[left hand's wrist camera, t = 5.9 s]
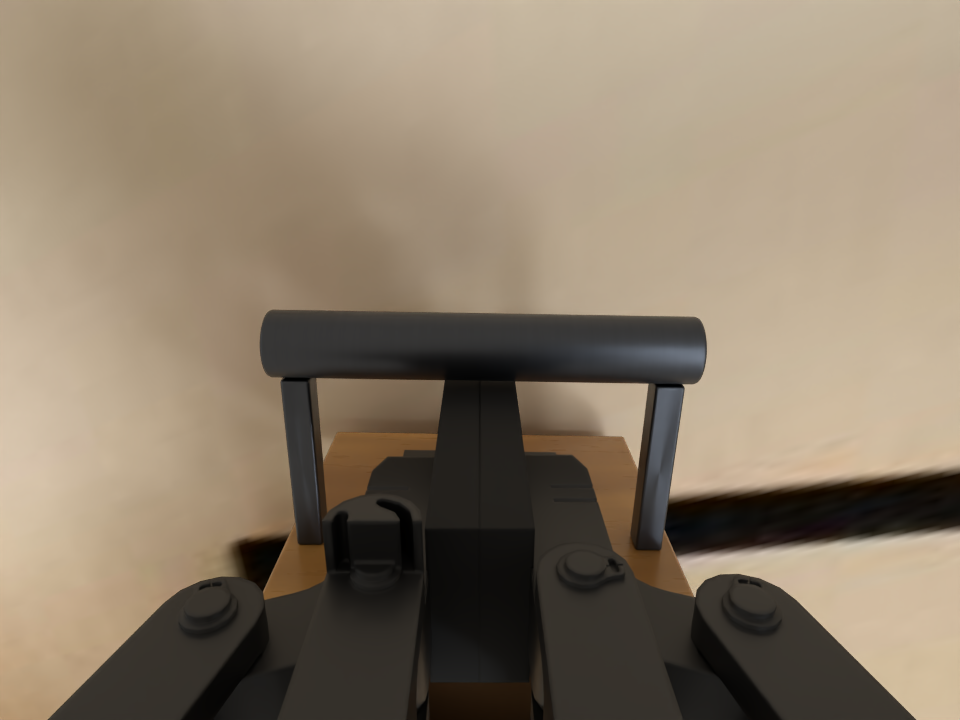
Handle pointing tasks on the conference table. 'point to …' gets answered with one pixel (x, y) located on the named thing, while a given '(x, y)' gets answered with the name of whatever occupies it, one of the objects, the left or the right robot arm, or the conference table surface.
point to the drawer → (534, 358)
